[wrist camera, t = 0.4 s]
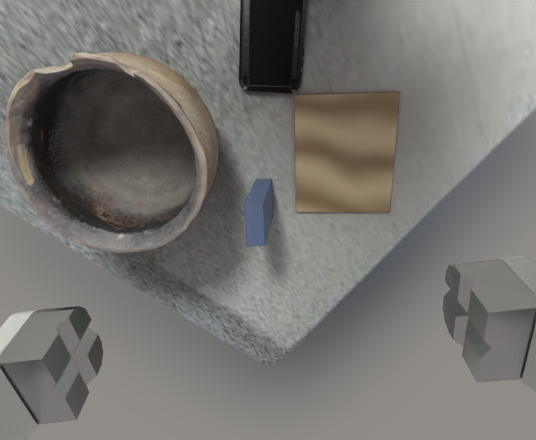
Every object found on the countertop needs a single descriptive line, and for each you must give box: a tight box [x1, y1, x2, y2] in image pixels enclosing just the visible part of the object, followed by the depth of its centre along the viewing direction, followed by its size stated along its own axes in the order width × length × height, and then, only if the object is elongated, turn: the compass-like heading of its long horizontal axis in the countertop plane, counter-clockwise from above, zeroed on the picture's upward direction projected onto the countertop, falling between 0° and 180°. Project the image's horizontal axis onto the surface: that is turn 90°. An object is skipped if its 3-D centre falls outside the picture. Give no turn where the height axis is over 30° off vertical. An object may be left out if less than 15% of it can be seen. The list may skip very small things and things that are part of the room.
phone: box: [239, 0, 307, 93], centre depth 48 cm, size 8×1×15 cm
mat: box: [295, 92, 400, 212], centre depth 53 cm, size 16×13×1 cm
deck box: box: [244, 179, 273, 246], centre depth 53 cm, size 6×2×10 cm, turn 2°
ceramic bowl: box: [4, 52, 219, 253], centre depth 49 cm, size 22×22×15 cm
